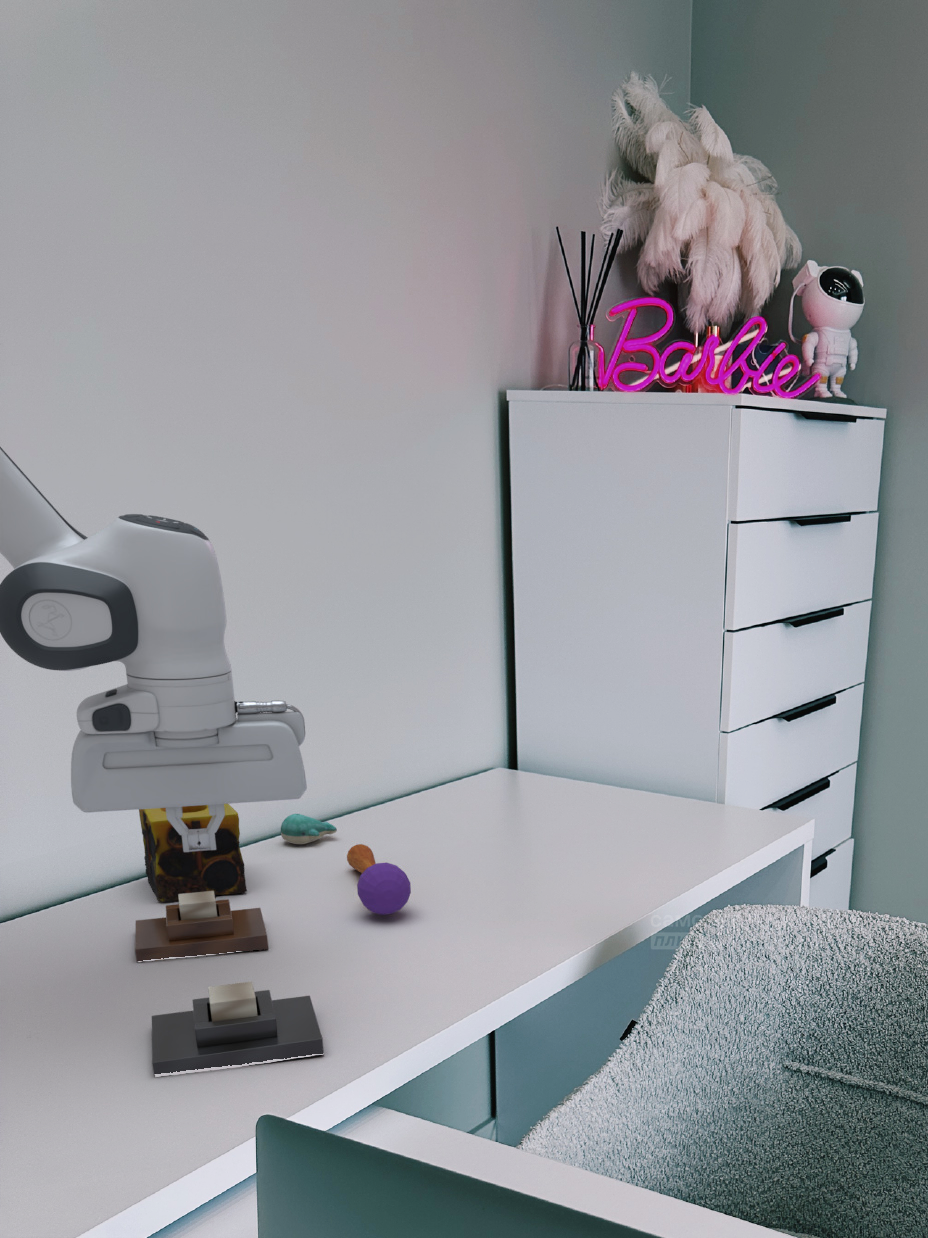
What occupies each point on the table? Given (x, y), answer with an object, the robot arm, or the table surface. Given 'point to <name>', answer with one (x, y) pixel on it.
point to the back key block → (200, 933)
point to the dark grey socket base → (235, 1035)
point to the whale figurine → (304, 829)
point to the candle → (191, 855)
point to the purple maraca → (379, 882)
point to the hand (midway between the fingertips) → (200, 849)
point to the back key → (197, 905)
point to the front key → (232, 1001)
